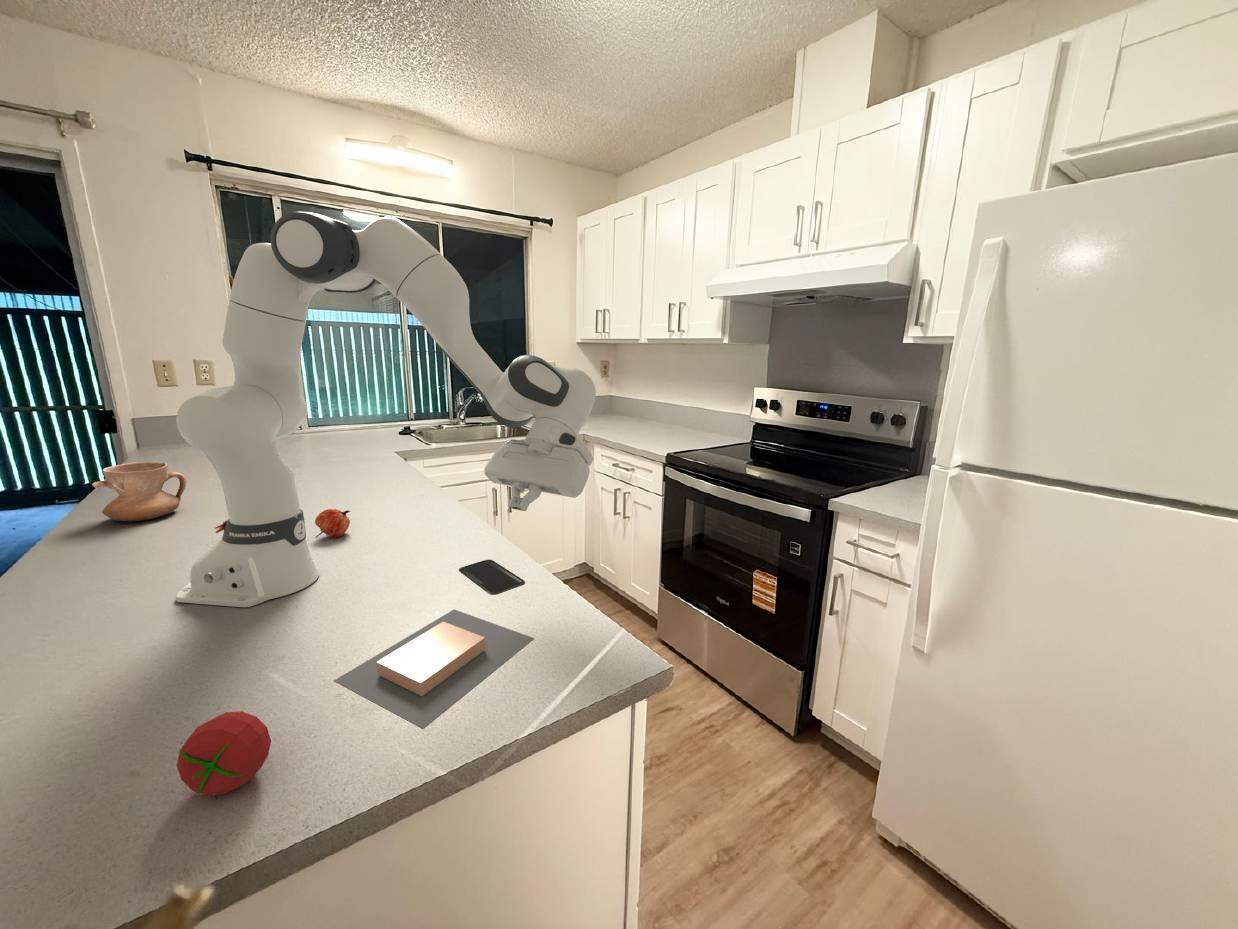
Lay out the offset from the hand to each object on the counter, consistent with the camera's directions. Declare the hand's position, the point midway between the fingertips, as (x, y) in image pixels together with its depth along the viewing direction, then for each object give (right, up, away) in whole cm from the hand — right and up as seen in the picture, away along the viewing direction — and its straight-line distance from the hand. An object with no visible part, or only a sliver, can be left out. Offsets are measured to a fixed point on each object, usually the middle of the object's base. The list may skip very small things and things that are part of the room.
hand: (516, 508), depth 84 cm
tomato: (-24, -27, -32) cm, 48 cm away
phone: (-9, -16, +15) cm, 24 cm away
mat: (-9, -22, -11) cm, 26 cm away
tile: (-7, -19, -8) cm, 22 cm away
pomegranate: (-53, -10, +36) cm, 65 cm away
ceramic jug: (-110, -7, +48) cm, 120 cm away
